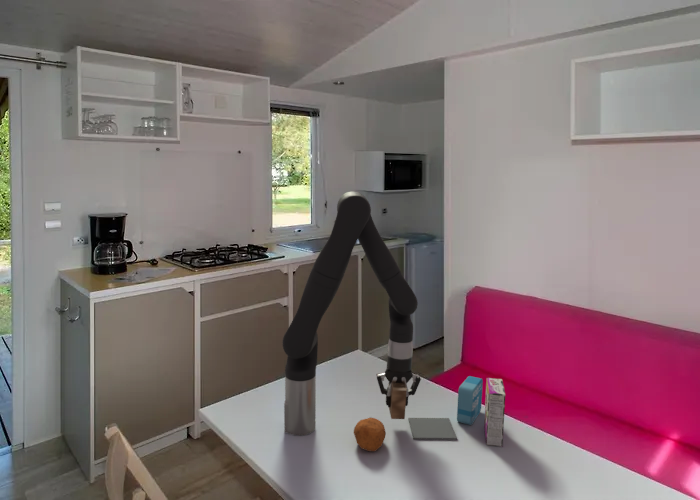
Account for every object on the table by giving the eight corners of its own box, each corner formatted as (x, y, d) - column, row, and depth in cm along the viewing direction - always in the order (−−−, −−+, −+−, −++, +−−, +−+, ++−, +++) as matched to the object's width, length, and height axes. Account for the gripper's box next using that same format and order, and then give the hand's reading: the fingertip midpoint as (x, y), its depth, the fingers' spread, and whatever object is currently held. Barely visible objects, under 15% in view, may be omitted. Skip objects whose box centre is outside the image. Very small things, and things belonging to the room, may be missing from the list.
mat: (413, 439, 151) (413, 437, 151) (408, 419, 162) (408, 417, 162) (457, 439, 151) (457, 437, 151) (448, 419, 163) (448, 418, 163)
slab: (391, 418, 152) (393, 387, 150) (388, 404, 161) (389, 374, 159) (404, 419, 152) (406, 388, 150) (400, 405, 161) (402, 375, 159)
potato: (347, 450, 144) (348, 426, 143) (361, 431, 155) (361, 408, 153) (378, 457, 141) (379, 432, 140) (390, 438, 151) (391, 414, 150)
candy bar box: (482, 426, 159) (486, 377, 156) (499, 428, 158) (502, 378, 155) (485, 445, 148) (488, 392, 145) (502, 447, 147) (506, 394, 144)
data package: (470, 426, 159) (472, 390, 157) (456, 423, 161) (458, 387, 159) (481, 411, 169) (483, 377, 167) (467, 407, 171) (469, 374, 169)
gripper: (377, 357, 149) (374, 411, 152) (425, 358, 150) (421, 413, 153) (375, 348, 157) (372, 400, 160) (421, 349, 157) (417, 401, 160)
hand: (396, 406), depth 156 cm, fingers closed on slab, 4 cm apart
